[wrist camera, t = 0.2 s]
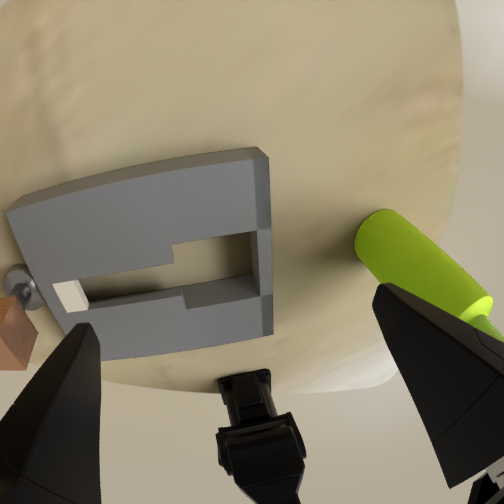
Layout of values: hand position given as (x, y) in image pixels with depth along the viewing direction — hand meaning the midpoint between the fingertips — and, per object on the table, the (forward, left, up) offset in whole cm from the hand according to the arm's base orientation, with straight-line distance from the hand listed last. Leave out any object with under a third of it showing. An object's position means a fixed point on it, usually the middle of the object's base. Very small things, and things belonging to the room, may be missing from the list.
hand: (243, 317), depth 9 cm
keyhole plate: (-7, +6, -15) cm, 17 cm away
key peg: (-7, +18, -15) cm, 24 cm away
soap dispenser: (-8, -16, -15) cm, 23 cm away
